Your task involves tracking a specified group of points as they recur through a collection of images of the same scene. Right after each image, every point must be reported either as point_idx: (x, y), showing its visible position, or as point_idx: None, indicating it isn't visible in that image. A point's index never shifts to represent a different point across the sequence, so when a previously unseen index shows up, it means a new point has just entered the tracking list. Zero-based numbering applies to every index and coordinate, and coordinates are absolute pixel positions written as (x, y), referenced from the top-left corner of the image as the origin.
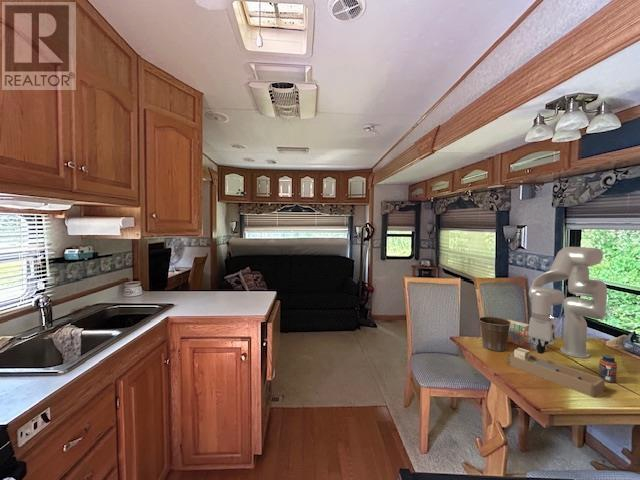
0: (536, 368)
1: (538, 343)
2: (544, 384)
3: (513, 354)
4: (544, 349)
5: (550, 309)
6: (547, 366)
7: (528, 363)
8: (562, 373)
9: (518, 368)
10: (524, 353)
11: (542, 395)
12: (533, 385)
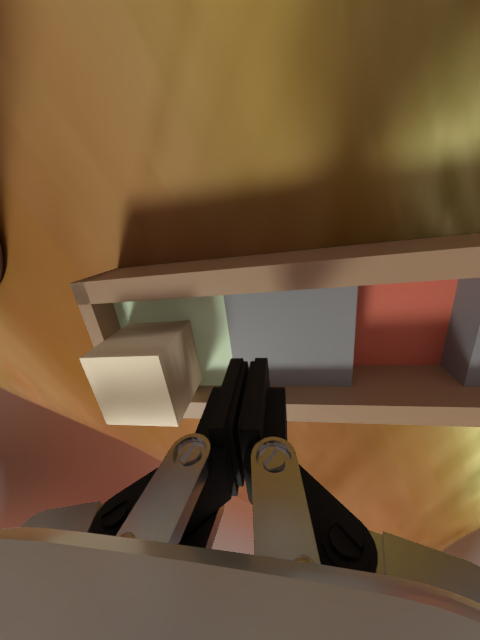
0: None
1: (221, 514)
2: (349, 429)
3: None
4: (286, 422)
5: None
6: (297, 305)
7: None
8: (444, 410)
9: None
10: (175, 424)
11: (382, 507)
12: (324, 466)
